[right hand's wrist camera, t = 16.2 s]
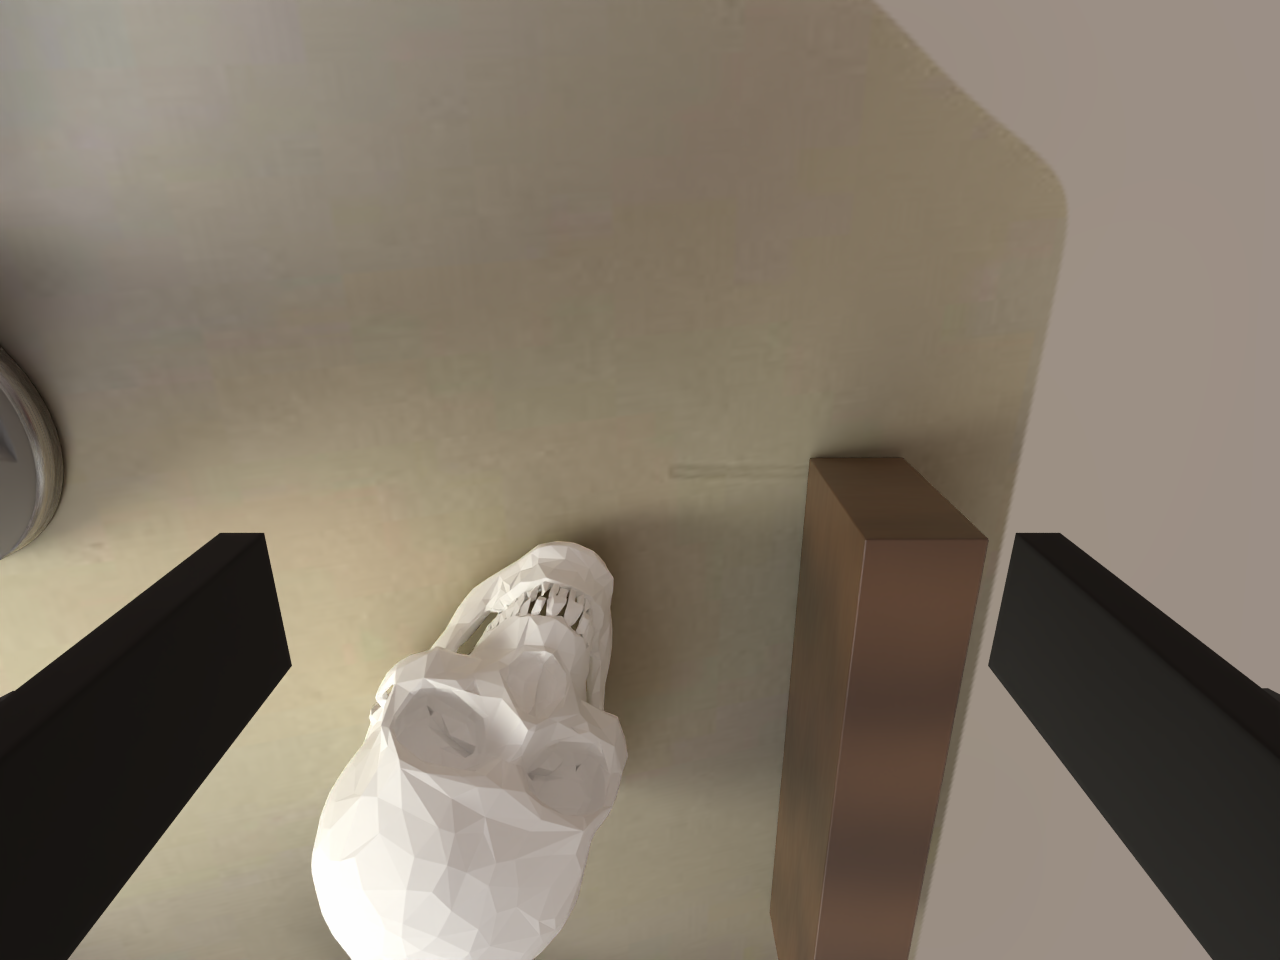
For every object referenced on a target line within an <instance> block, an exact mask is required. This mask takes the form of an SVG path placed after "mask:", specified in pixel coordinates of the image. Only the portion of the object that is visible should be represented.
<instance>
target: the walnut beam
mask: <svg viewBox="0 0 1280 960" xmlns="http://www.w3.org/2000/svg"><path fill="white" fill-rule="evenodd" d="M987 546H988V538H987V537H986V536H985V535H984V534H982V533H981V532H980V531H979V530H978V529H977V528H976V527H975V526H974V525H973V524H972V523H971V522H970V521H969V520H968V519H967V518H966V517H965V516H964V515H962V514H961V513H960V512H959V511H958V510H957V509H956V508H955V507H954V506H953V505H952V504H951V503H950V502H949V501H948V500H947V499H946V498H945V497H944V496H942V495H941V494H940V493H939V492H938V491H937V490H936V489H935V488H934V487H933V486H932V485H931V484H930V483H929V482H928V481H927V480H926V479H925V478H923V477H922V476H921V475H920V474H919V473H918V472H917V471H916V470H915V469H914V468H913V467H912V466H911V465H910V464H909V463H908V462H907V461H906V460H905V459H903V458H810V462H809V474H808V485H807V496H806V508H805V519H804V530H803V542H802V553H801V564H800V576H799V587H798V598H797V610H796V621H795V633H794V644H793V655H792V667H791V678H790V689H789V701H788V712H787V723H786V735H785V746H784V757H783V769H782V780H781V792H780V803H779V814H778V826H777V837H776V848H775V860H774V871H773V882H772V894H771V905H770V916H771V922H772V927H773V932H774V938H775V943H776V949H777V954H778V960H908V956H909V951H910V946H911V941H912V935H913V930H914V925H915V920H916V915H917V909H918V904H919V899H920V894H921V889H922V884H923V878H924V873H925V868H926V863H927V858H928V852H929V847H930V842H931V837H932V832H933V826H934V821H935V816H936V811H937V806H938V800H939V795H940V790H941V785H942V780H943V774H944V769H945V764H946V759H947V754H948V749H949V743H950V738H951V733H952V728H953V723H954V717H955V712H956V707H957V702H958V697H959V691H960V686H961V681H962V676H963V671H964V665H965V660H966V655H967V650H968V645H969V640H970V634H971V629H972V624H973V619H974V614H975V608H976V603H977V598H978V593H979V588H980V582H981V577H982V572H983V567H984V562H985V556H986V551H987Z"/></svg>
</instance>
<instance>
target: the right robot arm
mask: <svg viewBox="0 0 1280 960" xmlns="http://www.w3.org/2000/svg"><path fill="white" fill-rule="evenodd" d="M62 485H63V457H62V451H61V446H60V441H59V438H58V434H57V431H56V428H55V425H54V423H53V420H52V418H51V415H50V413H49V411H48V409H47V407H46V405H45V403H44V401H43V400H42V398H41V396H40V395H39V393H38V391H37V390H36V388H35V387H34V385H33V384H32V382H31V381H30V380H29V378H28V377H27V375H26V374H25V373H24V372H23V370H22V369H21V368H20V367H19V366H18V364H17V363H16V362H15V361H14V360H13V359H12V358H11V357H10V356H9V355H8V354H7V353H6V352H5V351H4V350H3V349H2V348H1V347H0V560H1V559H3V558H5V557H7V556H9V555H10V554H12V553H14V552H16V551H18V550H20V549H21V548H23V547H25V546H26V545H27V544H29V543H30V542H32V541H33V540H34V539H35V538H36V537H37V536H38V535H39V534H40V533H41V532H42V531H43V530H44V529H45V527H46V526H47V525H48V523H49V522H50V520H51V518H52V517H53V515H54V513H55V510H56V508H57V506H58V503H59V500H60V496H61V492H62ZM291 666H292V664H291V659H290V655H289V650H288V645H287V640H286V636H285V631H284V626H283V621H282V617H281V612H280V607H279V602H278V597H277V593H276V588H275V583H274V578H273V574H272V569H271V564H270V559H269V554H268V550H267V545H266V540H265V535H264V533H219V534H218V535H217V536H216V537H214V538H213V539H212V540H210V541H209V542H208V543H206V544H205V545H204V546H203V547H201V548H200V549H199V550H197V551H196V552H195V553H193V554H192V555H191V556H190V557H188V558H187V559H186V560H184V561H183V562H182V563H180V564H179V565H178V566H177V567H175V568H174V569H173V570H171V571H170V572H169V573H167V574H166V575H165V576H164V577H162V578H161V579H160V580H158V581H157V582H156V583H154V584H153V585H152V586H151V587H149V588H148V589H147V590H145V591H144V592H143V593H141V594H140V595H139V596H138V597H136V598H135V599H134V600H132V601H131V602H130V603H128V604H127V605H126V606H125V607H123V608H122V609H121V610H119V611H118V612H117V613H115V614H114V615H113V616H112V617H110V618H109V619H108V620H106V621H105V622H104V623H103V624H101V625H100V626H99V627H97V628H96V629H95V630H93V631H92V632H91V633H90V634H88V635H87V636H86V637H84V638H83V639H82V640H80V641H79V642H78V643H77V644H75V645H74V646H73V647H71V648H70V649H69V650H67V651H66V652H65V653H64V654H62V655H61V656H60V657H58V658H57V659H56V660H54V661H53V662H52V663H51V664H49V665H48V666H47V667H45V668H44V669H43V670H41V671H40V672H39V673H38V674H36V675H35V676H34V677H32V678H31V679H30V680H28V681H27V682H26V683H25V684H23V685H22V686H21V687H19V688H18V689H17V690H15V691H12V692H10V693H8V694H6V695H4V696H2V697H0V960H67V959H68V958H69V957H70V955H71V954H72V953H73V952H74V950H75V949H76V948H77V946H78V945H79V944H80V942H81V941H82V940H83V938H84V937H85V936H86V935H87V933H88V932H89V931H90V929H91V928H92V927H93V925H94V924H95V923H96V921H97V920H98V919H99V917H100V916H101V915H102V914H103V912H104V911H105V910H106V908H107V907H108V906H109V904H110V903H111V902H112V900H113V899H114V898H115V897H116V895H117V894H118V893H119V891H120V890H121V889H122V887H123V886H124V885H125V883H126V882H127V881H128V880H129V878H130V877H131V876H132V874H133V873H134V872H135V870H136V869H137V868H138V866H139V865H140V864H141V862H142V861H143V860H144V859H145V857H146V856H147V855H148V853H149V852H150V851H151V849H152V848H153V847H154V845H155V844H156V843H157V842H158V840H159V839H160V838H161V836H162V835H163V834H164V832H165V831H166V830H167V828H168V827H169V826H170V825H171V823H172V822H173V821H174V819H175V818H176V817H177V815H178V814H179V813H180V811H181V810H182V809H183V807H184V806H185V805H186V804H187V802H188V801H189V800H190V798H191V797H192V796H193V794H194V793H195V792H196V790H197V789H198V788H199V787H200V785H201V784H202V783H203V781H204V780H205V779H206V777H207V776H208V775H209V773H210V772H211V771H212V770H213V768H214V767H215V766H216V764H217V763H218V762H219V760H220V759H221V758H222V756H223V755H224V754H225V753H226V751H227V750H228V749H229V747H230V746H231V745H232V743H233V742H234V741H235V739H236V738H237V737H238V735H239V734H240V733H241V732H242V730H243V729H244V728H245V726H246V725H247V724H248V722H249V721H250V720H251V718H252V717H253V716H254V715H255V713H256V712H257V711H258V709H259V708H260V707H261V705H262V704H263V703H264V701H265V700H266V699H267V698H268V696H269V695H270V694H271V692H272V691H273V690H274V688H275V687H276V686H277V684H278V683H279V682H280V680H281V679H282V678H283V677H284V675H285V674H286V673H287V671H288V670H289V669H290V667H291ZM988 666H989V667H990V669H991V670H992V671H993V673H994V674H995V675H996V677H997V678H998V679H999V680H1000V682H1001V683H1002V684H1003V686H1004V687H1005V688H1006V690H1007V691H1008V692H1009V694H1010V695H1011V696H1012V697H1013V699H1014V700H1015V701H1016V703H1017V704H1018V705H1019V707H1020V708H1021V709H1022V711H1023V712H1024V713H1025V714H1026V716H1027V717H1028V718H1029V720H1030V721H1031V722H1032V724H1033V725H1034V726H1035V728H1036V729H1037V730H1038V732H1039V733H1040V734H1041V735H1042V737H1043V738H1044V739H1045V741H1046V742H1047V743H1048V745H1049V746H1050V747H1051V749H1052V750H1053V751H1054V752H1055V754H1056V755H1057V756H1058V758H1059V759H1060V760H1061V762H1062V763H1063V764H1064V765H1065V767H1066V768H1067V769H1068V771H1069V772H1070V773H1071V775H1072V776H1073V777H1074V779H1075V780H1076V781H1077V783H1078V784H1079V785H1080V787H1081V788H1082V789H1083V790H1084V792H1085V793H1086V794H1087V796H1088V797H1089V798H1090V800H1091V801H1092V802H1093V804H1094V805H1095V806H1096V807H1097V809H1098V810H1099V811H1100V813H1101V814H1102V815H1103V817H1104V818H1105V819H1106V821H1107V822H1108V823H1109V824H1110V826H1111V827H1112V828H1113V830H1114V831H1115V832H1116V834H1117V835H1118V836H1119V838H1120V839H1121V840H1122V841H1123V843H1124V844H1125V845H1126V847H1127V848H1128V849H1129V851H1130V852H1131V853H1132V854H1133V856H1134V857H1135V859H1136V860H1137V861H1138V862H1139V864H1140V865H1141V866H1142V868H1143V869H1144V870H1145V872H1146V873H1147V874H1148V875H1149V877H1150V878H1151V880H1152V881H1153V882H1154V883H1155V885H1156V886H1157V887H1158V889H1159V890H1160V891H1161V893H1162V894H1163V895H1164V897H1165V898H1166V899H1167V900H1168V902H1169V903H1170V904H1171V906H1172V907H1173V908H1174V910H1175V911H1176V912H1177V914H1178V915H1179V916H1180V917H1181V919H1182V920H1183V921H1184V923H1185V924H1186V925H1187V927H1188V928H1189V929H1190V931H1191V932H1192V933H1193V935H1194V936H1195V937H1196V938H1197V940H1198V941H1199V942H1200V944H1201V945H1202V946H1203V948H1204V949H1205V950H1206V952H1207V953H1208V954H1209V955H1210V957H1211V958H1212V959H1213V960H1280V694H1278V693H1276V692H1274V691H1272V690H1270V689H1268V688H1261V687H1259V686H1258V685H1257V684H1255V683H1254V682H1253V681H1251V680H1250V679H1249V678H1248V677H1246V676H1245V675H1244V674H1242V673H1241V672H1240V671H1239V670H1237V669H1236V668H1235V667H1233V666H1232V665H1231V664H1229V663H1228V662H1227V661H1226V660H1224V659H1223V658H1222V657H1220V656H1219V655H1218V654H1216V653H1215V652H1214V651H1213V650H1211V649H1210V648H1209V647H1207V646H1206V645H1205V644H1203V643H1202V642H1201V641H1200V640H1198V639H1197V638H1196V637H1194V636H1193V635H1192V634H1190V633H1189V632H1188V631H1187V630H1185V629H1184V628H1183V627H1181V626H1180V625H1179V624H1177V623H1176V622H1175V621H1174V620H1172V619H1171V618H1170V617H1168V616H1167V615H1166V614H1164V613H1163V612H1162V611H1161V610H1159V609H1158V608H1157V607H1155V606H1154V605H1153V604H1152V603H1150V602H1149V601H1148V600H1146V599H1145V598H1144V597H1142V596H1141V595H1140V594H1139V593H1137V592H1136V591H1135V590H1133V589H1132V588H1131V587H1129V586H1128V585H1127V584H1125V583H1124V582H1123V581H1122V580H1120V579H1119V578H1118V577H1116V576H1115V575H1114V574H1113V573H1111V572H1110V571H1109V570H1107V569H1106V568H1105V567H1103V566H1102V565H1101V564H1100V563H1098V562H1097V561H1096V560H1094V559H1093V558H1092V557H1090V556H1089V555H1088V554H1087V553H1085V552H1084V551H1083V550H1081V549H1080V548H1079V547H1077V546H1076V545H1075V544H1074V543H1072V542H1071V541H1070V540H1068V539H1067V538H1066V537H1064V536H1063V535H1062V534H1061V533H1016V535H1015V540H1014V545H1013V550H1012V554H1011V559H1010V564H1009V569H1008V574H1007V578H1006V583H1005V588H1004V593H1003V597H1002V602H1001V607H1000V612H999V617H998V621H997V626H996V631H995V636H994V640H993V645H992V650H991V655H990V659H989V664H988Z"/></svg>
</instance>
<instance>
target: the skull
mask: <svg viewBox="0 0 1280 960" xmlns="http://www.w3.org/2000/svg"><path fill="white" fill-rule="evenodd" d="M613 582H614V578H613V576H612V575H611V573H610V572H609V570H608V568H607V566H606V564H605V563H604V561H603V560H602V559H601V558H600V557H599V555H598V554H596V553H595V552H594V551H592V550H590V549H588V548H586V547H584V546H581V545H579V544H577V543H573V542H563V541H553V542H548V543H543V544H539V545H537V546H536V547H535V548H533V549H532V550H531V551H529V552H528V553H527V554H525V555H524V556H523V557H521V558H520V559H519V560H517V561H515V562H514V563H512V564H510V565H509V566H507V567H505V568H504V569H502V570H500V571H499V572H497V573H495V574H494V575H492V576H490V577H489V578H487V579H486V580H484V581H483V582H482V583H480V584H479V585H477V586H476V587H474V588H473V589H472V590H471V592H470V593H469V594H468V595H467V596H466V597H465V599H464V600H463V601H462V603H461V604H460V606H459V607H458V608H457V610H456V612H455V613H454V615H453V617H452V619H451V620H450V622H449V624H448V626H447V627H446V629H445V630H444V632H443V633H442V634H441V635H440V637H439V638H438V639H437V640H436V642H435V643H434V644H433V645H432V647H431V648H430V650H426V651H423V652H419V653H415V654H411V655H409V656H407V657H406V658H404V659H402V660H400V661H399V662H397V663H396V664H395V665H394V666H393V667H392V668H391V669H390V670H389V671H388V672H387V674H386V676H385V677H384V679H383V681H382V683H381V685H380V686H379V689H378V691H377V693H376V701H377V702H376V703H375V704H374V705H373V707H372V709H371V712H370V716H369V719H370V721H371V723H370V726H369V729H368V732H367V735H366V737H365V740H364V743H363V745H362V746H361V747H360V748H359V749H358V751H357V752H356V753H355V755H354V756H353V758H352V759H351V760H350V762H349V763H348V764H347V766H346V767H345V768H344V770H343V771H342V773H341V774H340V776H339V778H338V779H337V781H336V782H335V784H334V786H333V787H332V789H331V791H330V793H329V795H328V798H327V800H326V803H325V805H324V808H323V811H322V813H321V817H320V821H319V826H318V830H317V835H316V840H315V844H314V849H313V853H312V866H311V870H312V876H313V881H314V885H315V889H316V893H317V897H318V901H319V905H320V909H321V913H322V915H323V917H324V919H325V921H326V923H327V925H328V927H329V929H330V931H331V933H332V935H333V936H334V937H335V939H336V940H337V941H338V942H339V944H340V945H341V946H342V948H343V949H344V950H345V951H346V953H347V954H348V955H349V957H350V958H351V959H352V960H533V959H534V958H535V957H536V956H537V955H539V954H540V953H541V952H542V951H543V950H544V949H545V948H546V946H547V945H548V944H549V943H550V942H551V941H552V940H553V938H554V937H555V936H556V935H557V934H558V933H559V932H560V931H561V929H562V927H563V926H564V924H565V922H566V920H567V919H568V917H569V915H570V913H571V912H572V910H573V908H574V906H575V904H576V901H577V899H578V895H579V891H580V887H581V883H582V879H583V875H584V870H585V866H586V862H587V858H588V853H589V847H590V844H591V841H592V838H593V836H594V834H595V832H596V830H597V829H598V828H599V827H600V825H601V824H602V823H603V821H604V820H605V819H606V818H607V816H608V815H609V813H610V811H611V808H612V806H613V804H614V801H615V799H616V797H617V793H618V789H619V785H620V781H621V777H622V772H623V769H624V767H625V764H626V761H627V758H628V752H627V745H626V739H625V736H624V733H623V730H622V727H621V724H620V721H619V718H618V716H616V715H613V714H611V713H608V712H606V711H604V699H605V683H606V678H607V674H608V669H609V665H610V658H611V650H612V633H613V628H612V619H611V610H610V606H611V599H612V594H613ZM548 589H551V590H550V593H549V597H550V598H549V599H547V608H546V616H542V615H540V611H541V610H542V608H543V606H544V604H545V601H546V598H545V597H541V596H543V595H544V593H545V592H546V591H547V590H548ZM559 589H560V591H559ZM540 591H542V592H541V596H539V597H538V599H537V601H536V603H535V605H534V607H533V609H532V612H531V614H529V613H528V609H529V605H530V603H531V602H533V601H535V600H536V598H537V594H538V592H540ZM558 592H559V593H558ZM568 592H569V598H568V603H567V607H566V611H565V614H564V617H562V616H558V614H559V613H560V611H561V610H562V608H563V607H564V605H565V604H566V601H567V598H566V597H567V594H568ZM557 593H558V596H557V595H556V594H557ZM528 598H529V600H528ZM575 598H577V603H576V602H575ZM526 600H527V601H526ZM525 601H526V602H525ZM524 602H525V603H524ZM490 612H499V613H498V615H497V617H496V618H494V619H493V620H492V622H491V623H489V624H488V626H487V627H486V629H485V631H484V632H483V635H482V637H481V638H480V639H479V641H478V642H477V643H476V645H475V647H474V649H473V651H472V652H471V653H470V654H469V655H466V654H458V653H456V652H457V650H458V649H459V647H460V646H461V645H462V644H463V643H465V642H466V641H467V640H468V639H469V638H470V637H471V636H472V634H473V633H474V632H475V631H476V630H477V628H478V627H479V626H480V625H481V624H482V622H483V621H484V620H485V619H486V617H487V616H488V615H489V614H490ZM582 612H583V614H582V616H581V618H580V621H579V624H578V627H577V629H576V631H574V630H573V629H572V628H571V626H572V625H573V624H574V623H575V622H576V621H577V619H578V618H579V617H580V615H581V613H582ZM579 634H581V635H579ZM586 681H587V692H586ZM391 685H394V686H393V688H392V690H391V692H390V693H388V694H387V689H388V688H389V687H390V686H391Z"/></svg>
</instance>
